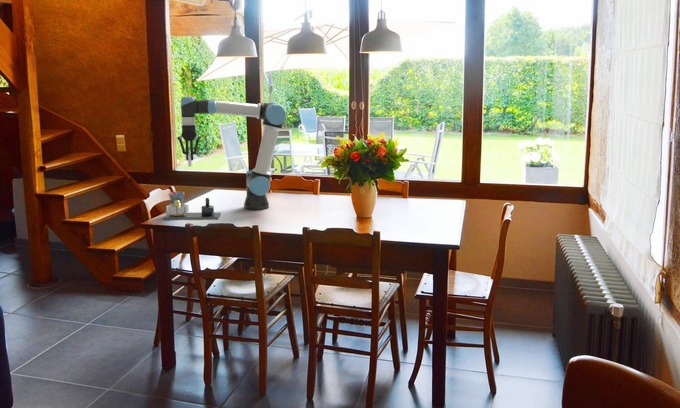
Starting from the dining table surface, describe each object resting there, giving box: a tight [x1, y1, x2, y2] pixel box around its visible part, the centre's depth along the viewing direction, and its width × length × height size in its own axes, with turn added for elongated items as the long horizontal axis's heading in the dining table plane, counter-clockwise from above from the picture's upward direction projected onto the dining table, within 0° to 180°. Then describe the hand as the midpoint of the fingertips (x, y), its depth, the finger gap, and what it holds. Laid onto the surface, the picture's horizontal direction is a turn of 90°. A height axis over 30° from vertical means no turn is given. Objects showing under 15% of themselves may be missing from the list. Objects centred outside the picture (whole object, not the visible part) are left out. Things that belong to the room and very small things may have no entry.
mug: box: [167, 191, 186, 204], centre depth 401 cm, size 12×9×11 cm
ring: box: [165, 203, 190, 214], centre depth 382 cm, size 12×12×4 cm
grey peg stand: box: [163, 197, 222, 221], centre depth 382 cm, size 30×13×11 cm, turn 94°
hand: (190, 166), depth 384 cm, fingers closed
